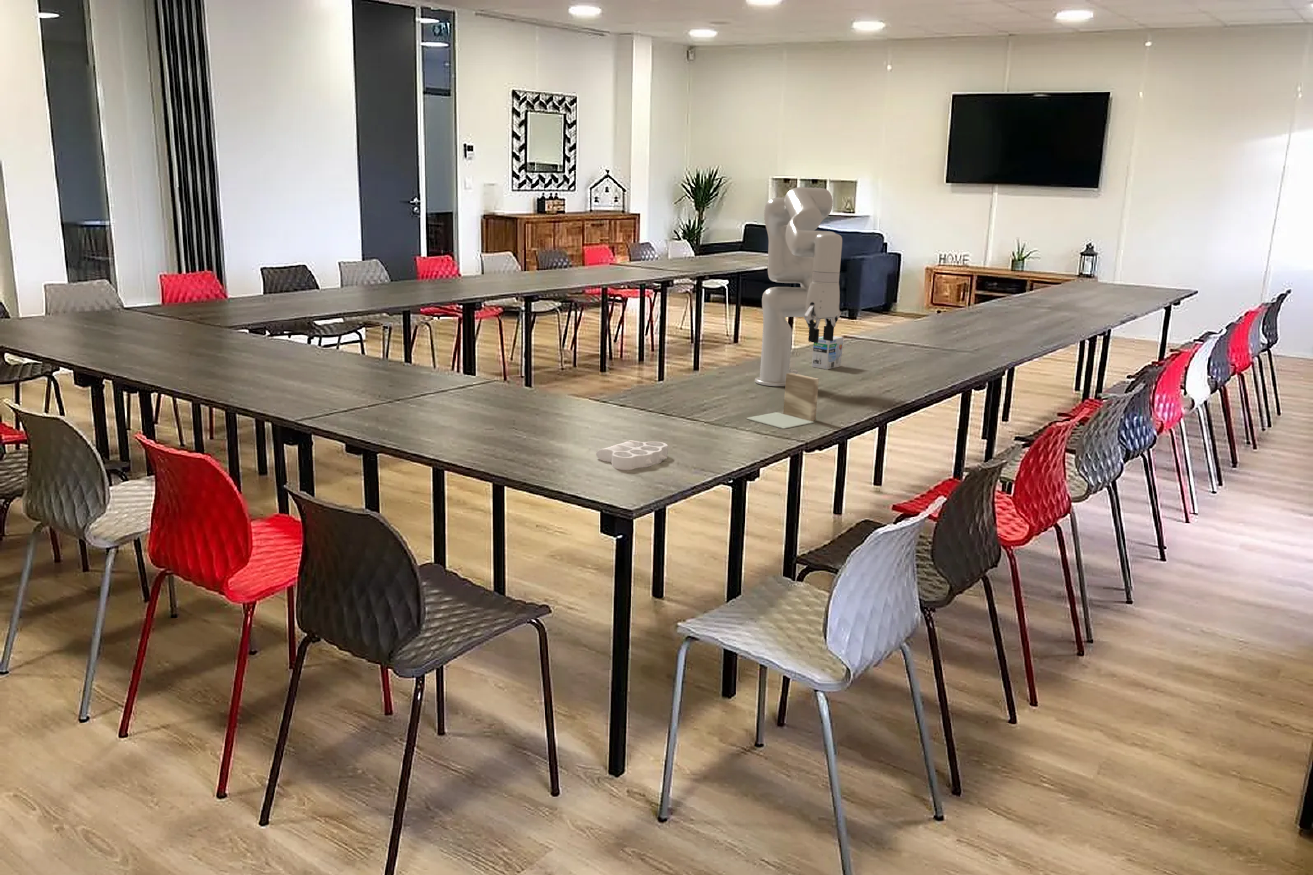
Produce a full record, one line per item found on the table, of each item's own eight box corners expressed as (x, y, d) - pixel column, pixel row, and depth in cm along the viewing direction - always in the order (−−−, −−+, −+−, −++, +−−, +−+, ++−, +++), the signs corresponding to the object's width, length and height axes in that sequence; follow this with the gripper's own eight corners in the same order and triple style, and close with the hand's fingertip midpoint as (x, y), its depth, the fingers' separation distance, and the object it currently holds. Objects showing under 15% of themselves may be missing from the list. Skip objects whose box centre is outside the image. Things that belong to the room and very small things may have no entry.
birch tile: (788, 413, 308) (791, 372, 305) (815, 420, 301) (818, 378, 298) (783, 414, 307) (786, 373, 304) (810, 421, 300) (813, 379, 297)
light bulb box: (827, 369, 378) (829, 340, 376) (810, 367, 382) (813, 337, 379) (841, 366, 387) (844, 336, 384) (825, 363, 390) (827, 334, 388)
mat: (776, 413, 308) (776, 412, 308) (813, 422, 298) (813, 421, 298) (745, 418, 299) (745, 417, 299) (783, 429, 289) (783, 428, 289)
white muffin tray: (632, 448, 265) (681, 460, 257) (587, 463, 251) (636, 475, 242) (633, 435, 264) (681, 446, 256) (587, 449, 250) (637, 461, 242)
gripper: (834, 275, 307) (829, 337, 312) (795, 277, 296) (790, 341, 300) (855, 278, 302) (849, 340, 306) (816, 280, 291) (811, 345, 295)
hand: (820, 340), depth 303 cm, fingers open, 5 cm apart
